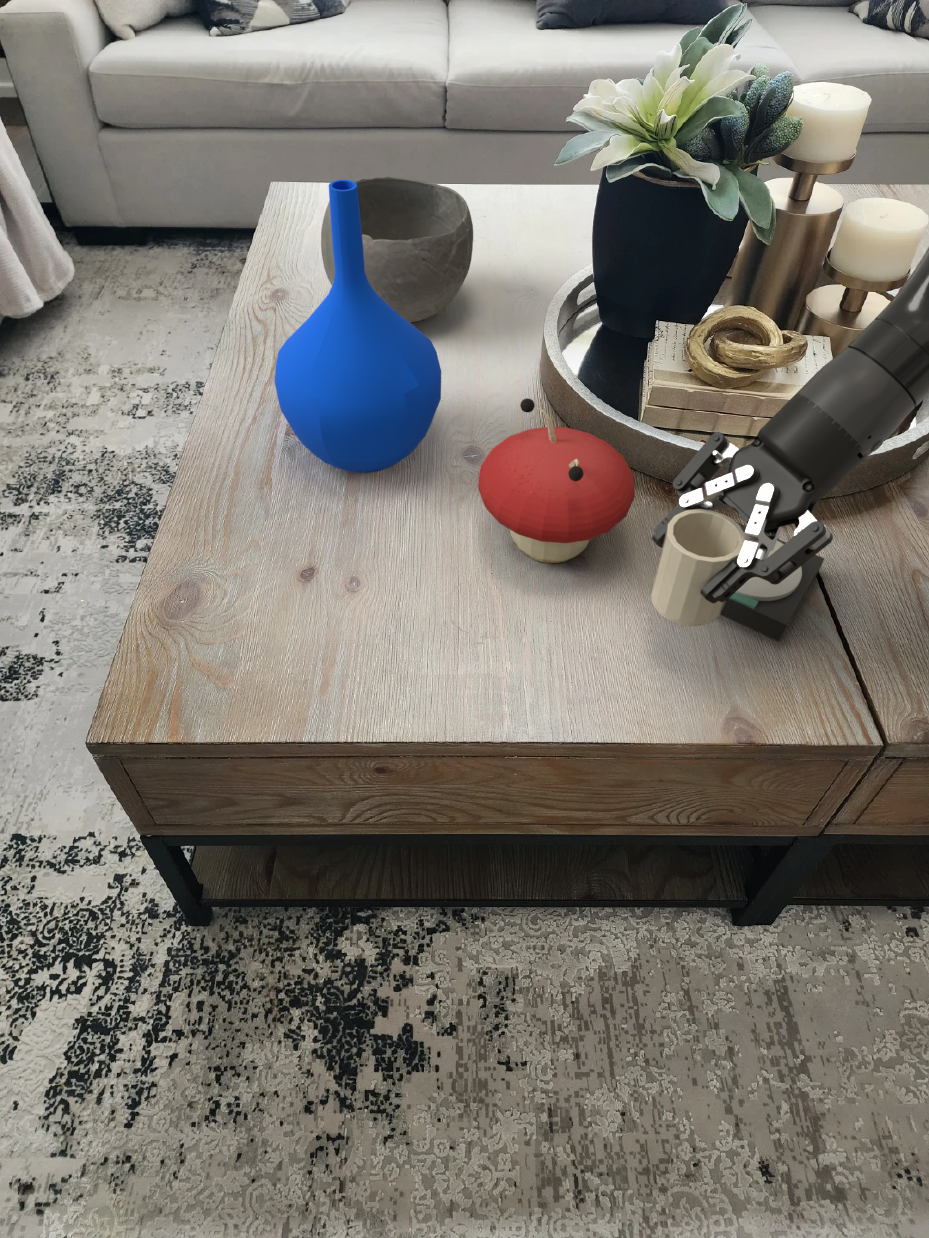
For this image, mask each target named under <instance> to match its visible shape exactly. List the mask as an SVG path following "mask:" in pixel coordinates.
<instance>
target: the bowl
mask: <svg viewBox="0 0 929 1238" xmlns="http://www.w3.org/2000/svg"><path fill="white" fill-rule="evenodd" d="M354 182H355V183H356V184H357V190H358V200H359V210H360V220H361V230H362V240H363V252H364V266H365V273H366V276H367V279H368V282H369V283H370V285H371V286H372V288H373V289H374V291H375V293H377V294H378V295H379V296H380V297H381V298H382V299H383V300H384V301H385V302H386V303H387V304H388V305H389V306H390V307H391V308H392V309H393V310H395V311H396V312H397V313H398V314H399V315H400V316H402V317H403V318H404V319H405V320H407V321H408V322H409V323H413V322H419V321H423V320H426V319H429V318H430V317H433V316H434V315H436V314H438V313H439V312H441V311H442V310H444V309H445V308H446V307H447V306H448V305H449V304H450V303H451V302H452V301H453V300H454V299H455V298H456V296H457V295H458V293H459V291H460V290H461V288H462V287H463V284H464V282H465V280H466V279H467V276H468V273H469V271H470V267H471V263H472V257H473V250H474V249H473V247H474V225H473V224H474V223H473V219H472V215H471V211H470V209H469V205H468V203H467V200H466V199H464V197H463V196H462V195H461V194H459V193H458V192H457V191H456V190H455V189H452V188H450V187H447V186H445V185H441V184H438V183H433V182H427V181H423V180H418V179H412V178H405V177H391V176H386V177H372V178H361V179H359V180H357V181H354ZM327 203H328V204H327V206H326V209H325V212H324V215H323V219H322V224H321V230H320V231H321V232H320V248H321V250H320V251H321V257H322V264H323V269H324V271H325V275H326V277H327V279H328V281H329V283H330V285H331V286H332V285H333V283H334V277H335V265H334V254H333V243H332V228H331V213H330V200H329V201H328V202H327Z"/></svg>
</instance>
